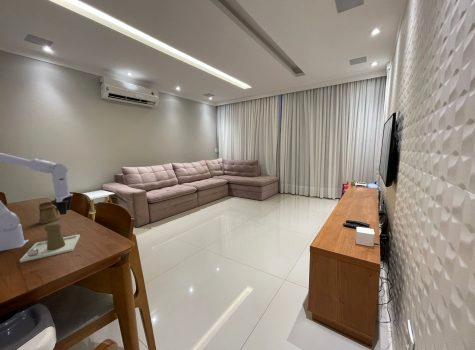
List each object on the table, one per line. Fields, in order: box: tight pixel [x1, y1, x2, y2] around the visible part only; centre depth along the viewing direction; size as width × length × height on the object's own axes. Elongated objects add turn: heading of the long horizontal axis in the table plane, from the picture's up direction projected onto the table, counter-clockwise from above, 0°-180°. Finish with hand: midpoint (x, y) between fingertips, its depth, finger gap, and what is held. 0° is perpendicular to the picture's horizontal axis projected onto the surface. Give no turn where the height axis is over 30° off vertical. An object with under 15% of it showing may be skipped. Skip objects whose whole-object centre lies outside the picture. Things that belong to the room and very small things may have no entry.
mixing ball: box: [26, 248, 39, 257], centre depth 80 cm, size 3×3×3 cm
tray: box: [19, 233, 81, 263], centre depth 87 cm, size 16×16×2 cm
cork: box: [44, 221, 65, 250], centre depth 87 cm, size 6×6×11 cm
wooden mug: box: [38, 197, 60, 224], centre depth 122 cm, size 9×14×18 cm, turn 148°
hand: (65, 212), depth 104 cm, fingers open, 7 cm apart
